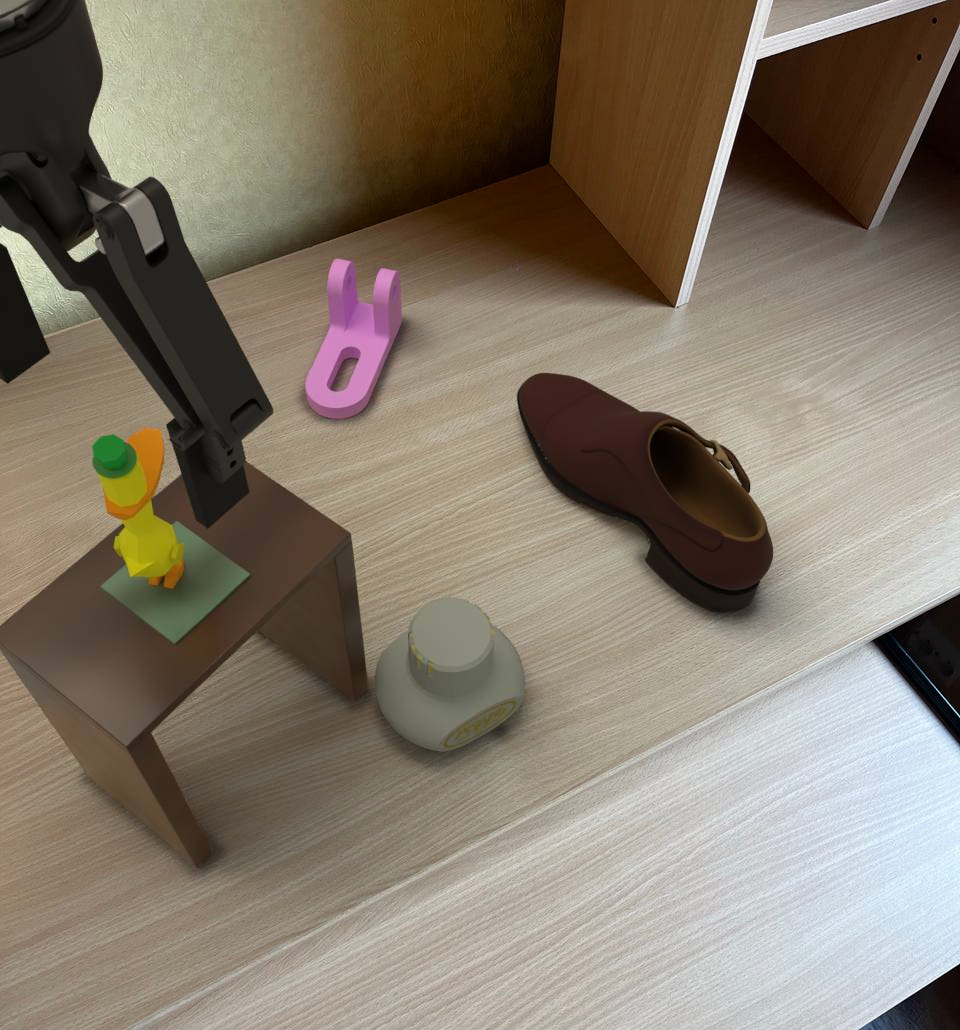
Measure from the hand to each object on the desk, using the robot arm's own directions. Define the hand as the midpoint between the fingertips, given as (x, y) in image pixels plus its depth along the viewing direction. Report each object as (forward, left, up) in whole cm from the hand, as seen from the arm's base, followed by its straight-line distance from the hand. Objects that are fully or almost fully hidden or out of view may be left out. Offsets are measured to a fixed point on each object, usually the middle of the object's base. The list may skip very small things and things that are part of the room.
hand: (120, 433), depth 52 cm
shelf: (0, 0, -33) cm, 33 cm away
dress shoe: (+11, +36, -33) cm, 50 cm away
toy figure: (-1, 0, -13) cm, 13 cm away
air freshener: (+11, +12, -33) cm, 37 cm away
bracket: (-17, +33, -33) cm, 50 cm away
